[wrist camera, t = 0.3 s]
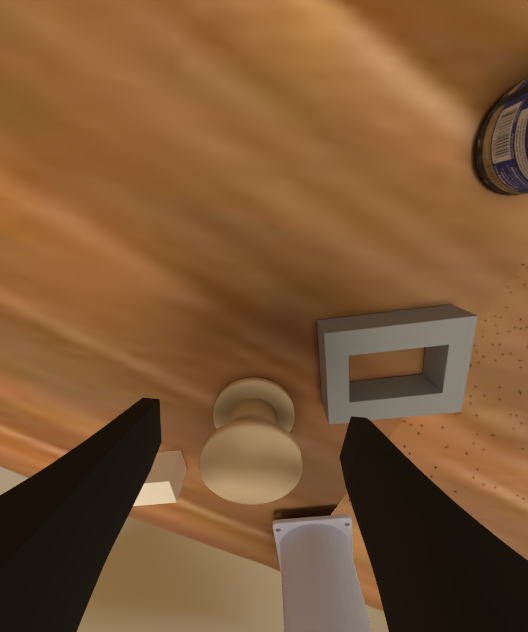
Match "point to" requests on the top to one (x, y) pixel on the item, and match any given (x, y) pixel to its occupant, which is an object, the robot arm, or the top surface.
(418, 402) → the board with rectangular hole
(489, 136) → the pill bottle
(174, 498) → the rectangular block
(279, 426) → the bobbin
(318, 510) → the top surface
